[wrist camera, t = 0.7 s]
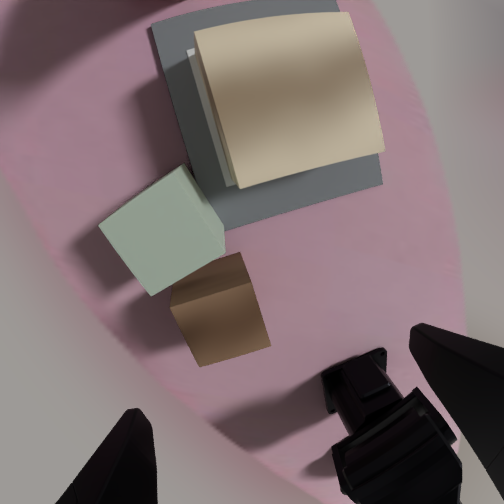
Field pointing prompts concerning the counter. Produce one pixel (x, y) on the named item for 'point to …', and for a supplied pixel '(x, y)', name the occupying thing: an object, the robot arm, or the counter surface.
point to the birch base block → (288, 94)
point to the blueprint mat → (206, 136)
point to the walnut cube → (219, 311)
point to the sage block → (166, 231)
